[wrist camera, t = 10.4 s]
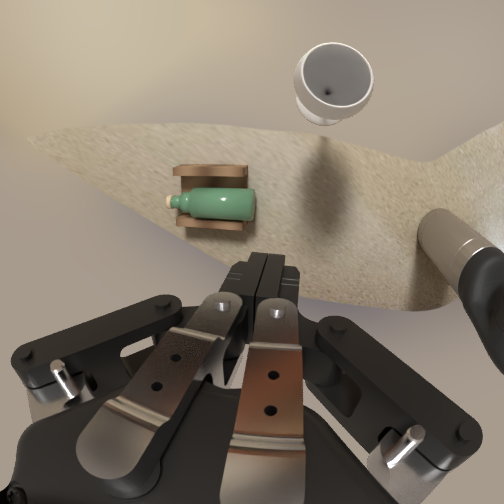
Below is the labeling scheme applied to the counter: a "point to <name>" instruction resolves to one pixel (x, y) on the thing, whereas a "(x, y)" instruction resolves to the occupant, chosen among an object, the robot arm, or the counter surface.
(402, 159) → the counter surface
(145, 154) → the counter surface
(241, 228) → the brown wooden u-shaped block
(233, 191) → the bottle
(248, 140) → the counter surface
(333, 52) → the wineglass
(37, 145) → the counter surface
